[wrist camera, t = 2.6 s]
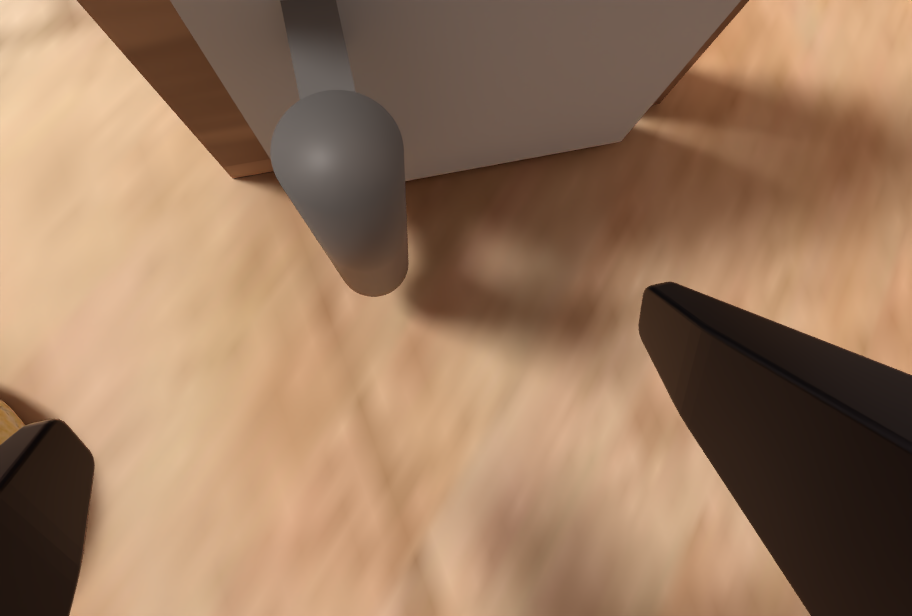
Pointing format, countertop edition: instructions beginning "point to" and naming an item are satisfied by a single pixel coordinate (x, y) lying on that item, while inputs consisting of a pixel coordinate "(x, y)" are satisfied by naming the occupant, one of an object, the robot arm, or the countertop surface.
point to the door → (432, 95)
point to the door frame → (210, 76)
